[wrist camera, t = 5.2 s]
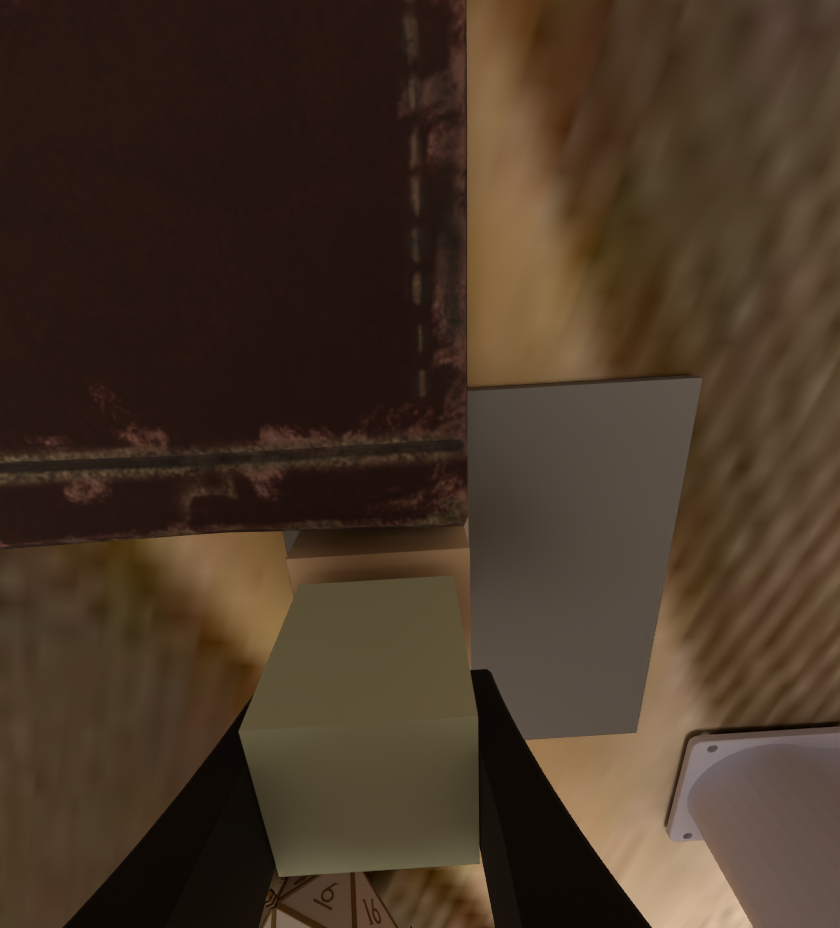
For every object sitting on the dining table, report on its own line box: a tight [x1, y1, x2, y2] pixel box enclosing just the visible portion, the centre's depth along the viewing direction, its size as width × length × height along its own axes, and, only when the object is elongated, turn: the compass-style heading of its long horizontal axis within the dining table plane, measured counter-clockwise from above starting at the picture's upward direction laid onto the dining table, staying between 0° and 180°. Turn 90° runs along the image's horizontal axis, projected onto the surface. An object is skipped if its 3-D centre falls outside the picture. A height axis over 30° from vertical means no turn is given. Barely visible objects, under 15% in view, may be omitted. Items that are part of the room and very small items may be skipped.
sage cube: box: [239, 575, 480, 877], centre depth 9 cm, size 4×4×4 cm
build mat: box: [283, 375, 702, 740], centre depth 17 cm, size 15×17×1 cm
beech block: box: [286, 526, 471, 670], centre depth 14 cm, size 5×5×4 cm
